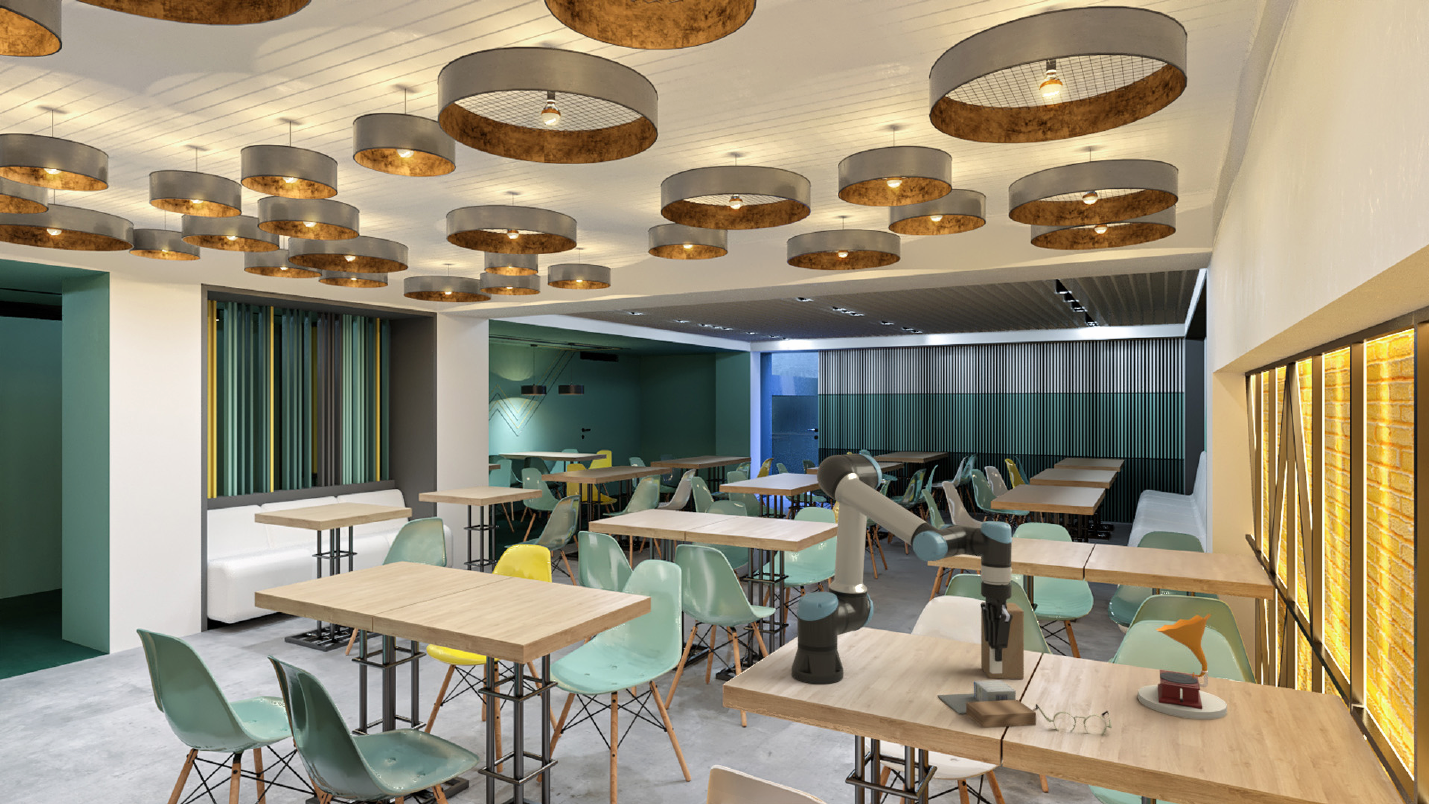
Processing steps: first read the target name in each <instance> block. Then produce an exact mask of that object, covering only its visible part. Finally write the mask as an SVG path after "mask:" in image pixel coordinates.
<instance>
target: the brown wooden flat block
mask: <svg viewBox="0 0 1429 804" xmlns="http://www.w3.org/2000/svg"><path fill="white" fill-rule="evenodd" d="M965 715H967V716H968V717H969V718H970V719H972V720H973V721H974V722H975V723H976V724H977V725H979V726H980V727H981V728H1000V727H1003V728H1004V727H1020V726H1036V725H1037V712H1036V711H1034V710H1033V709H1031V708H1030V707H1028V706H1027V705H1025V703H1023V702H1022V701H1020V700H1019V699H1016V700H1003V701H982V702H966V714H965Z"/></svg>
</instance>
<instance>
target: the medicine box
mask: <svg viewBox="0 0 1429 804" xmlns="http://www.w3.org/2000/svg"><path fill="white" fill-rule="evenodd" d="M1016 691H1017V690H1016V689H1015V688H1013V687H1012V686H1010V685H1009V684H1007V683H1006V681H1003V679H996V680H994V679H993V680H991V679H990V680H974V681H973V693H974V697H975V698H976V699H978V700H979V701H980V702H982V701H1003V700H1017V699H1016V698H1017V697H1016V696H1017V694H1016V693H1017V692H1016Z"/></svg>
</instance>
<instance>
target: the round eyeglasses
mask: <svg viewBox="0 0 1429 804" xmlns="http://www.w3.org/2000/svg"><path fill="white" fill-rule="evenodd" d="M1035 707H1036V710H1039V712H1040V713H1041V714H1042V716H1043V717H1044V719H1045V720H1046V721H1048V723H1053V726H1054V728H1055V731H1060V730H1059V728H1057V726H1056V725H1055V718H1056V717H1057V716H1058V715H1060V714H1067V715H1069V716H1071V718H1072V719H1073V721H1074V724H1073V725H1072V726H1073V728H1072V729H1071V730H1070V731H1069V732H1070V733H1071V732H1073V731H1075V728H1076V723H1077V720H1076V719H1077V718H1079V719H1083V728H1084V729H1085V731H1086V733H1088V734H1090V732H1088V731H1087V729H1086V728H1087V726H1086V721H1087V720H1088V719H1089V718H1090V717H1097V718H1100V719H1101V720H1103V722H1104V724H1105V727H1104V729H1103V730H1102V732H1100V735H1102V736H1104V735H1105V733H1106V731H1107V728H1108V729H1112V727H1113V726H1112V722H1111V718H1110V714H1109V710H1106V711H1104V712H1102V713H1101V715H1102V716H1105V715H1106V714H1107V716H1108V722H1109V723H1108V725H1107V722H1106V721H1105V719H1104V718H1103V717H1102V716H1101V715H1099V714H1092V715H1088V716H1087V717H1084V716H1077V715H1075V716H1073V715H1072V714H1071V713H1069V712H1067V711H1058V712H1057V713H1055V714H1054V715H1053V719H1051V718H1049V716H1047V715H1046V714H1045V712H1044V711H1043V710H1042V708H1040V706H1039V705H1038V704H1037V703H1036V704H1035Z"/></svg>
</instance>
